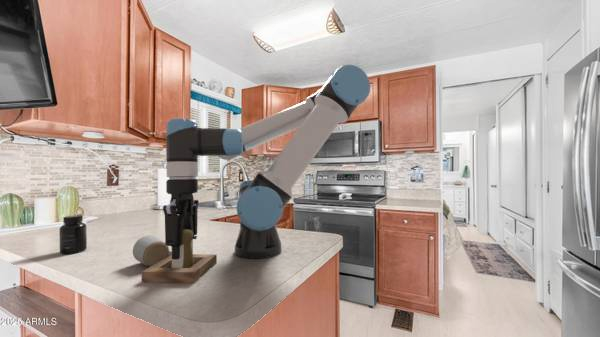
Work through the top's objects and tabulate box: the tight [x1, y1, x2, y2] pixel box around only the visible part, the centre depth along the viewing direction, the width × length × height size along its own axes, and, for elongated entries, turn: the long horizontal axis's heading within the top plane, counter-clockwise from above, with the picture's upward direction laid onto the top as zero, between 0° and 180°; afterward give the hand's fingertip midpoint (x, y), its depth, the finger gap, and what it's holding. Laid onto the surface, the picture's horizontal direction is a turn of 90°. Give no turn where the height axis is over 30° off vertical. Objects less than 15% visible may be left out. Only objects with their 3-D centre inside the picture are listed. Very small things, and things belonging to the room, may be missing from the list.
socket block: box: [141, 253, 218, 284], centre depth 66 cm, size 13×13×2 cm
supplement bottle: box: [59, 214, 88, 255], centre depth 85 cm, size 7×7×12 cm
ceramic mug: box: [132, 234, 172, 268], centre depth 73 cm, size 11×8×8 cm
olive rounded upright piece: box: [171, 229, 194, 268], centre depth 66 cm, size 6×6×11 cm
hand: (182, 267), depth 66 cm, fingers closed on olive rounded upright piece, 4 cm apart
